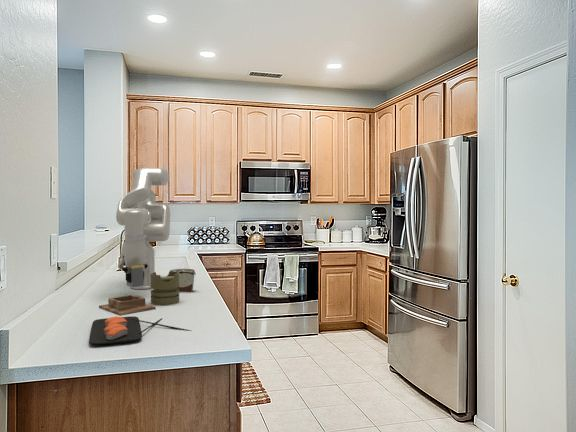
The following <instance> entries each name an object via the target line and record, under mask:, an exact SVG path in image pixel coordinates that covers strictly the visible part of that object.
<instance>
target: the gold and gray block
mask: <svg viewBox="0 0 576 432" xmlns="http://www.w3.org/2000/svg"><path fill="white" fill-rule="evenodd" d="M130 273H131V283H129V282H127V281H126V285H127V286H128V287H130V288H131V287H137V286H143V265H135V266H131V270H130Z"/></svg>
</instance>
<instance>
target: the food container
mask: <svg viewBox="0 0 576 432" xmlns="http://www.w3.org/2000/svg"><path fill="white" fill-rule="evenodd" d="M169 271H176V272H179V287H178V288H177V289H179V293H193V292H194V283H195V282H194V281H195V275H196V271H195V269H193V268H174V269H170V270H169Z"/></svg>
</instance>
